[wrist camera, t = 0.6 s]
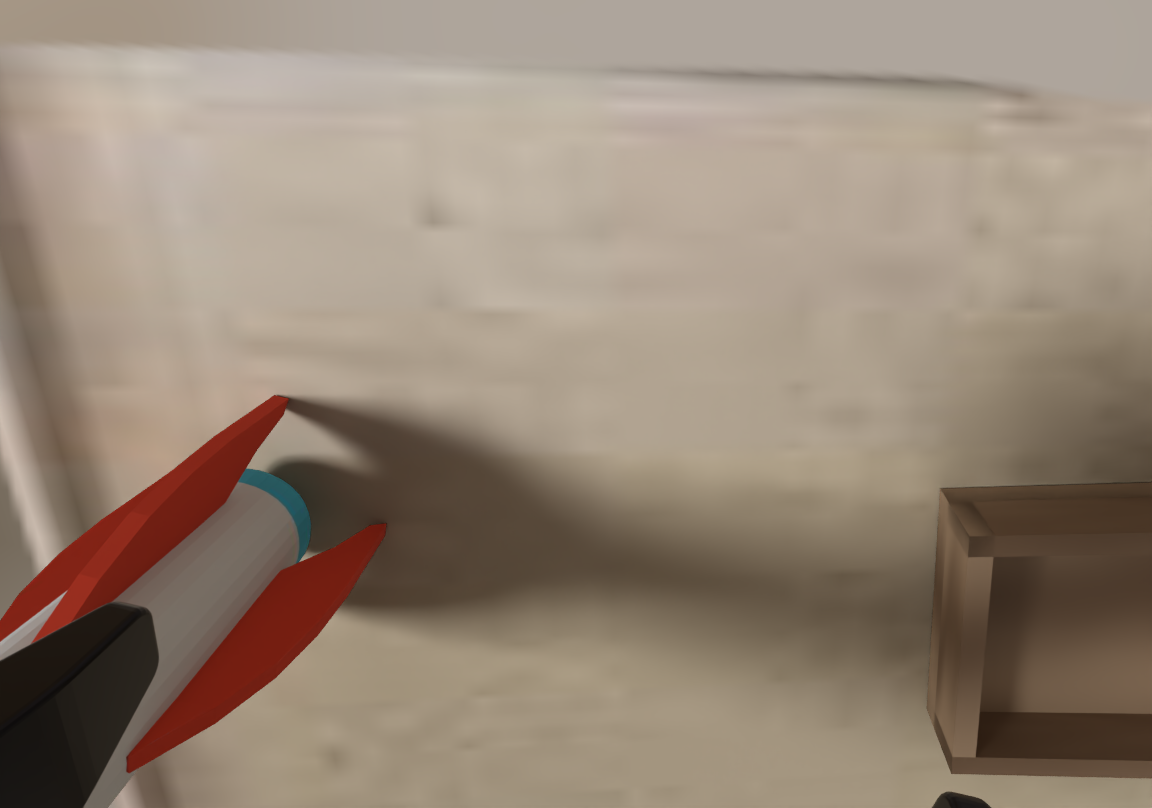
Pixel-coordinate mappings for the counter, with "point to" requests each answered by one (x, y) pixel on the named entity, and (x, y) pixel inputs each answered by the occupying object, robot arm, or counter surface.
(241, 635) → the toy rocket
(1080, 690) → the caddy
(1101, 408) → the counter surface
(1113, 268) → the counter surface
